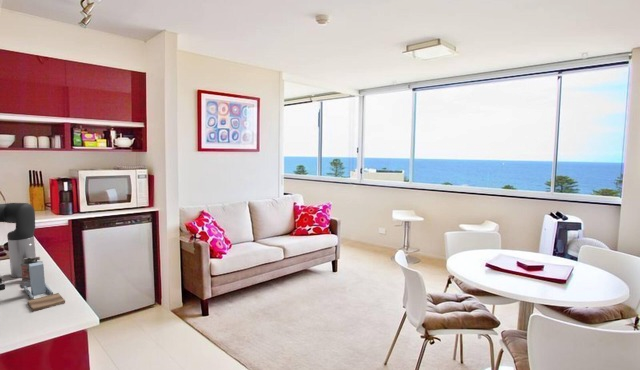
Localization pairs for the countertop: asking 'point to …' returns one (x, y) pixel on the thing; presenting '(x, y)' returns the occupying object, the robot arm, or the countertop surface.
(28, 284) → the dark gray flat plate
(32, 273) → the block
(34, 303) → the board
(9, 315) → the countertop surface
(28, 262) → the lighter
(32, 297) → the channel
